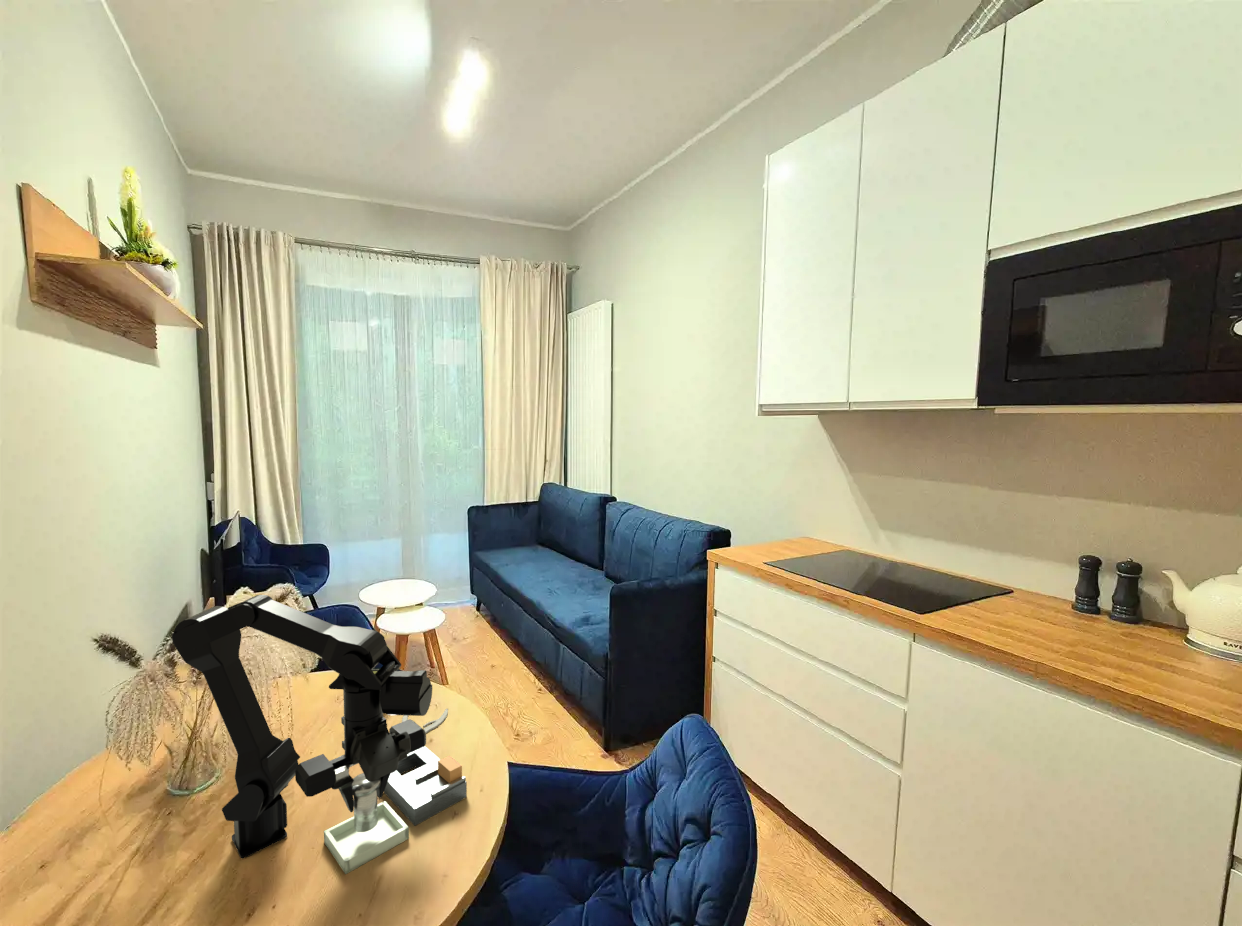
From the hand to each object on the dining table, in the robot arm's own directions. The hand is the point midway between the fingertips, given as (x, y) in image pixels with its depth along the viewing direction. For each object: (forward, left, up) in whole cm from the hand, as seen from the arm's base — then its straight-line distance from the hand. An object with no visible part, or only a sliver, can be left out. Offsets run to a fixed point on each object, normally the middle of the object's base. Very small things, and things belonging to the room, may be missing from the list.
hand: (365, 803), depth 90 cm
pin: (0, 0, -4) cm, 4 cm away
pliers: (+22, +24, -7) cm, 33 cm away
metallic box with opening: (+12, +6, -6) cm, 15 cm away
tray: (0, 0, -6) cm, 6 cm away
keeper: (+16, +1, -3) cm, 16 cm away
